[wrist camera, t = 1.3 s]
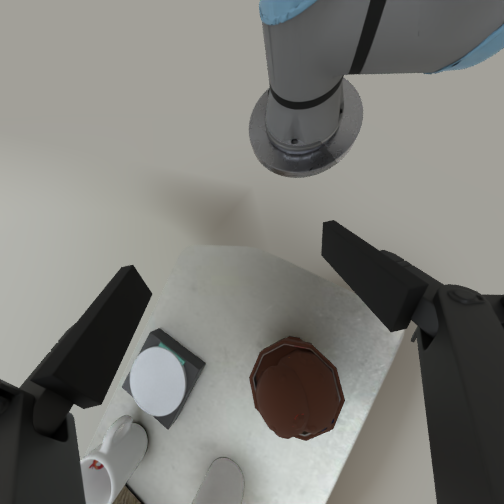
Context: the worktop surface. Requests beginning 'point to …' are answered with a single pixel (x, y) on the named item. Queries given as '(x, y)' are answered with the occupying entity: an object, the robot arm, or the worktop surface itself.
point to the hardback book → (126, 497)
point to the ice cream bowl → (296, 389)
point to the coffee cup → (221, 484)
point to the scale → (163, 377)
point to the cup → (113, 461)
